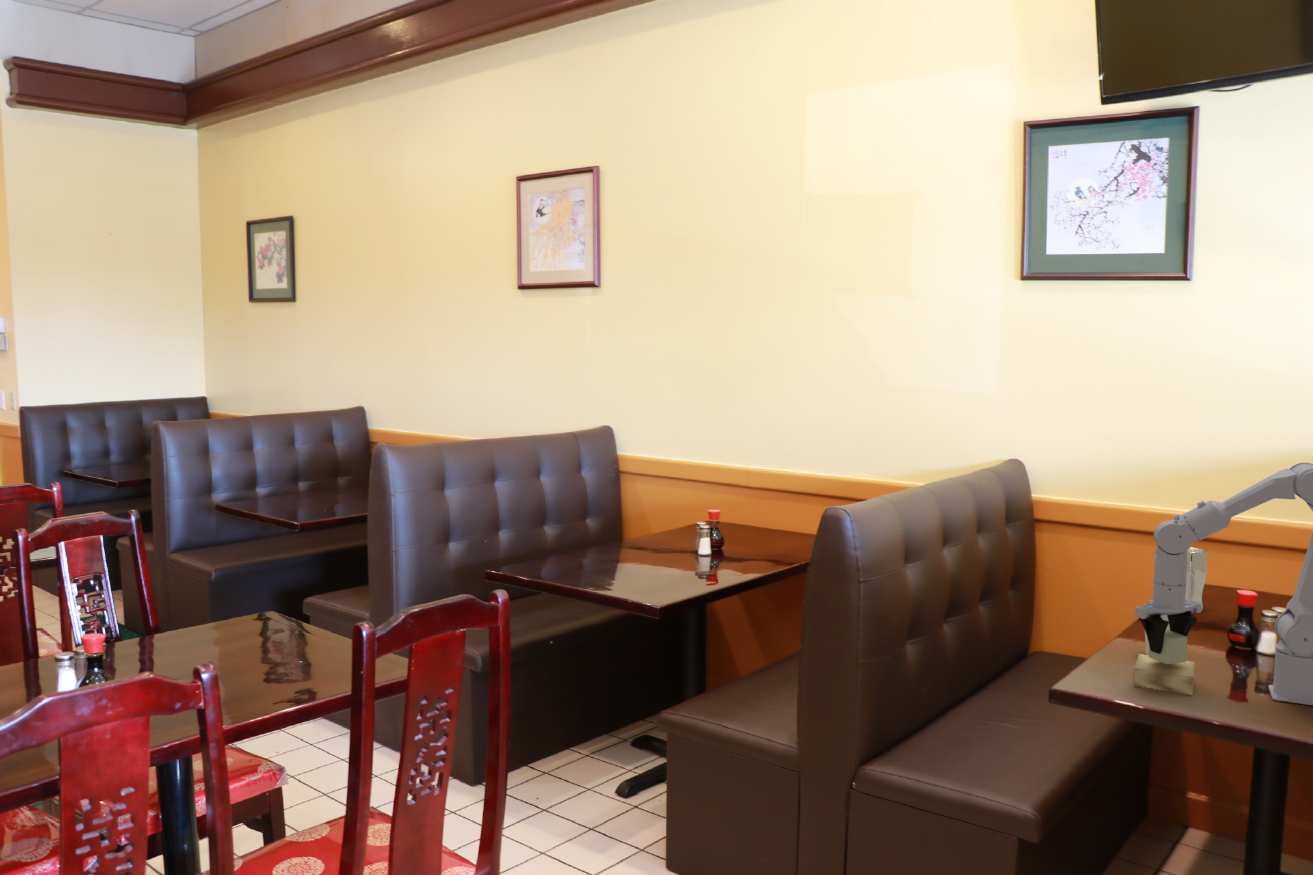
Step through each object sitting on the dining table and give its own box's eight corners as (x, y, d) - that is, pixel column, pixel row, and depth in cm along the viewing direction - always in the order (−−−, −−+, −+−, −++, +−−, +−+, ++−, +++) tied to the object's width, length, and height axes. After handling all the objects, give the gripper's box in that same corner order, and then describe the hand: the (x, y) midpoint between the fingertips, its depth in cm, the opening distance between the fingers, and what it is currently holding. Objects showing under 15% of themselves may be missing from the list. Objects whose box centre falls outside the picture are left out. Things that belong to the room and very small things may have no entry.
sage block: (1166, 654, 197) (1168, 630, 196) (1185, 661, 192) (1187, 636, 192) (1148, 656, 195) (1149, 632, 195) (1167, 664, 191) (1168, 638, 190)
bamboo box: (1193, 681, 196) (1194, 661, 196) (1192, 696, 188) (1193, 676, 187) (1138, 672, 201) (1139, 653, 201) (1133, 687, 193) (1134, 667, 192)
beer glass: (1176, 610, 246) (1179, 551, 245) (1170, 603, 253) (1174, 546, 252) (1207, 613, 244) (1211, 553, 243) (1201, 606, 251) (1204, 547, 250)
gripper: (1181, 575, 199) (1178, 641, 200) (1124, 580, 194) (1120, 648, 195) (1211, 583, 192) (1207, 651, 193) (1152, 589, 187) (1149, 659, 189)
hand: (1166, 650), depth 194 cm, fingers closed on sage block, 4 cm apart
